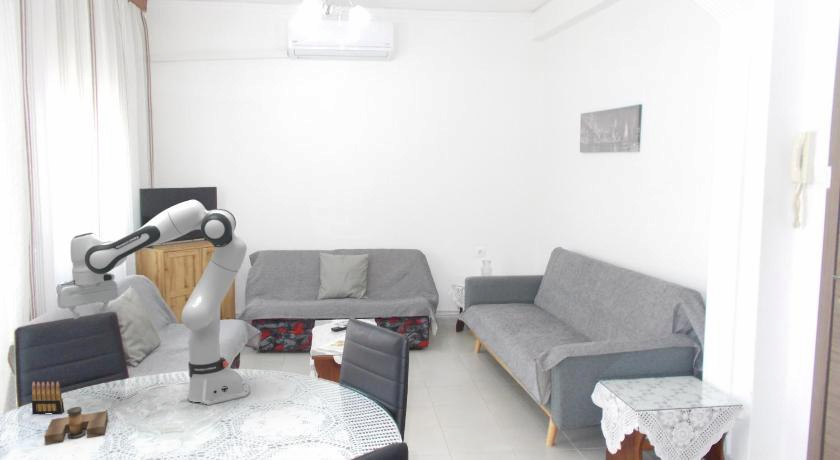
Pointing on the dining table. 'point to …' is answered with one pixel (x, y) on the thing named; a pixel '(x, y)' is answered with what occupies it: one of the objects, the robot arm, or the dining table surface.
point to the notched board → (90, 422)
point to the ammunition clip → (47, 399)
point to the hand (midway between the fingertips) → (90, 315)
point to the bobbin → (75, 423)
